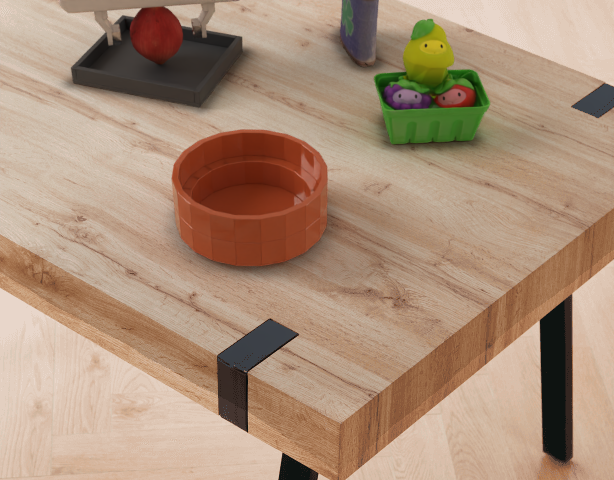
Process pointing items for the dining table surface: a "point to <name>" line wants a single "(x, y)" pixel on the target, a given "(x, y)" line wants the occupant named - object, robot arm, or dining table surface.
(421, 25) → the fruit basket
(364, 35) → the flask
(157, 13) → the onion
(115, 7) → the robot arm
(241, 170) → the bowl
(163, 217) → the dining table surface
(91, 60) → the tray
